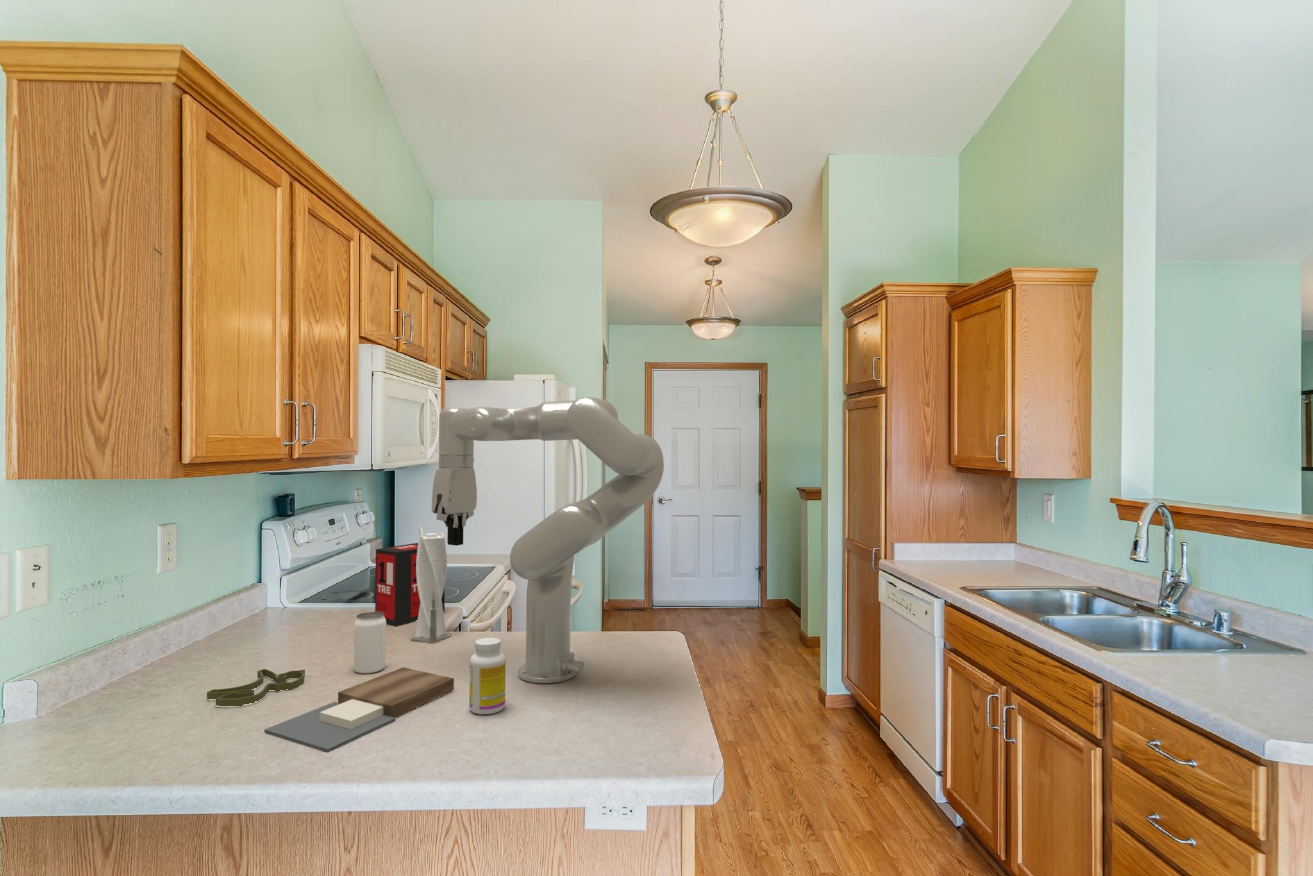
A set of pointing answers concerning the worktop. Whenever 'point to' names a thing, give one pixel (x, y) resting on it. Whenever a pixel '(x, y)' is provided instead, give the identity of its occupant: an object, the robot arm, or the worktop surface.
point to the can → (370, 643)
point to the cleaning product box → (398, 584)
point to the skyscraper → (431, 587)
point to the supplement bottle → (487, 677)
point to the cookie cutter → (245, 692)
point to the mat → (323, 730)
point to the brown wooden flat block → (399, 690)
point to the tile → (351, 714)
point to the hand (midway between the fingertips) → (455, 544)
